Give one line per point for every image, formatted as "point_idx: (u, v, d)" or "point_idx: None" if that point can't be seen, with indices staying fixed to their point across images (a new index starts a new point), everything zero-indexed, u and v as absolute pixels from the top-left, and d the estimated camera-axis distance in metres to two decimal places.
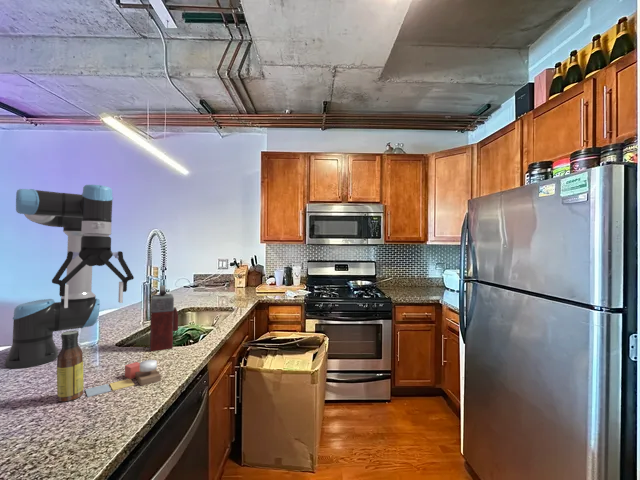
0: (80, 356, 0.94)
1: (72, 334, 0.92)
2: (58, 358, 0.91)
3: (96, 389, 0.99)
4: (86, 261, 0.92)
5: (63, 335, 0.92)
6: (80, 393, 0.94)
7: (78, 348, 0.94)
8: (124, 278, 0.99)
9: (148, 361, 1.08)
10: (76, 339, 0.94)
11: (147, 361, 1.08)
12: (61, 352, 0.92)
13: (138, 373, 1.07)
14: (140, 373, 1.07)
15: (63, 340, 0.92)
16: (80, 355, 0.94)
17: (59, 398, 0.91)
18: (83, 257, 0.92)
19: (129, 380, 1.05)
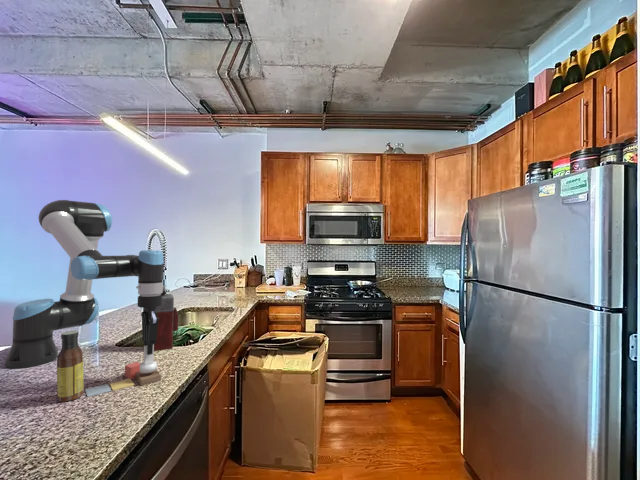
0: (80, 356, 0.94)
1: (72, 334, 0.92)
2: (58, 358, 0.91)
3: (96, 389, 0.99)
4: (142, 316, 1.08)
5: (63, 335, 0.92)
6: (80, 393, 0.94)
7: (78, 348, 0.94)
8: (146, 342, 1.05)
9: None
10: (76, 339, 0.94)
11: None
12: (61, 352, 0.92)
13: (138, 373, 1.07)
14: (140, 373, 1.07)
15: (63, 340, 0.92)
16: (80, 355, 0.94)
17: (59, 398, 0.91)
18: None
19: (129, 380, 1.05)
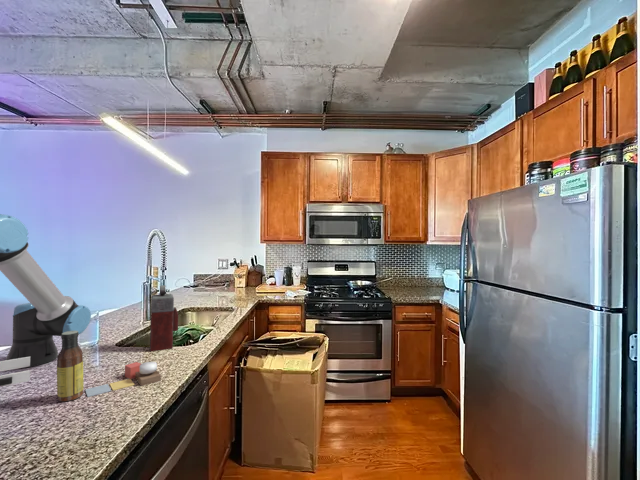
0: (80, 356, 0.94)
1: (72, 334, 0.92)
2: (58, 358, 0.91)
3: (96, 389, 0.99)
4: None
5: (63, 335, 0.92)
6: (80, 393, 0.94)
7: (78, 348, 0.94)
8: None
9: (148, 363, 1.08)
10: (76, 339, 0.94)
11: (147, 362, 1.08)
12: (61, 352, 0.92)
13: (138, 373, 1.07)
14: (140, 373, 1.07)
15: (63, 340, 0.92)
16: (80, 355, 0.94)
17: (59, 398, 0.91)
18: None
19: (129, 380, 1.05)
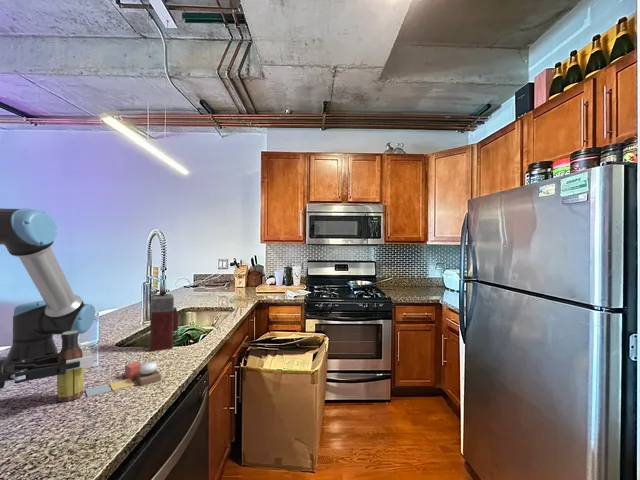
0: (80, 356, 0.94)
1: (72, 334, 0.92)
2: (58, 358, 0.91)
3: (96, 389, 0.99)
4: None
5: (63, 335, 0.92)
6: (80, 393, 0.94)
7: (78, 348, 0.94)
8: None
9: (148, 363, 1.08)
10: (76, 339, 0.94)
11: (147, 362, 1.08)
12: (61, 352, 0.92)
13: (138, 373, 1.07)
14: (140, 373, 1.07)
15: (63, 340, 0.92)
16: (80, 355, 0.94)
17: (59, 398, 0.91)
18: None
19: (129, 380, 1.05)
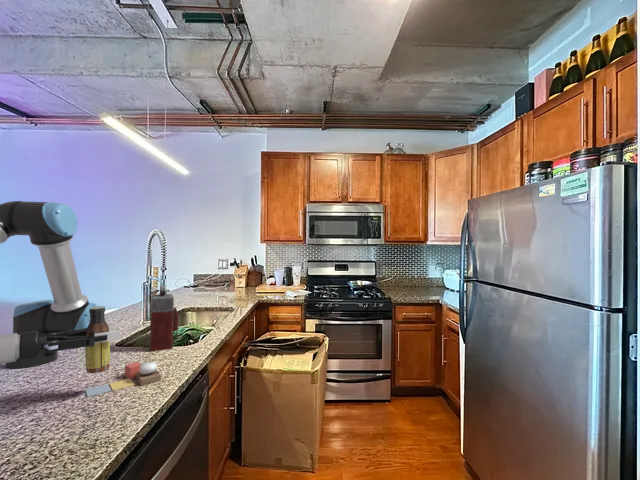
0: (107, 330, 0.98)
1: (99, 309, 0.96)
2: (86, 331, 0.95)
3: (96, 389, 0.99)
4: None
5: (91, 309, 0.95)
6: (107, 366, 0.97)
7: (105, 323, 0.98)
8: None
9: (148, 363, 1.08)
10: (103, 314, 0.98)
11: (147, 362, 1.08)
12: (89, 326, 0.95)
13: (138, 373, 1.07)
14: (140, 373, 1.07)
15: (91, 314, 0.96)
16: (107, 329, 0.98)
17: (87, 370, 0.95)
18: None
19: (129, 380, 1.05)
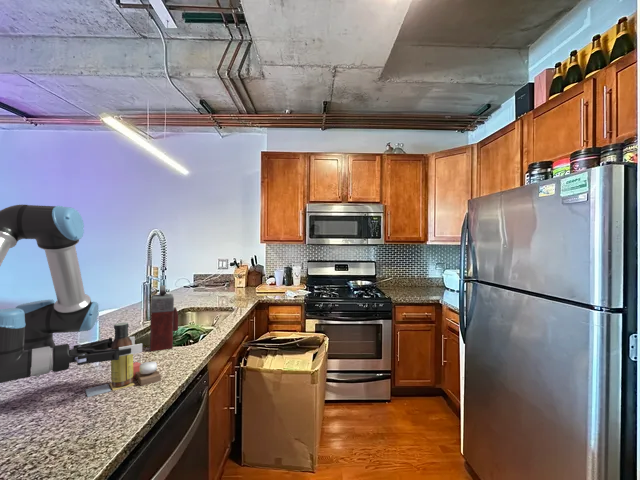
0: None
1: (124, 325, 1.02)
2: (112, 347, 1.00)
3: (96, 389, 0.99)
4: None
5: (116, 326, 1.01)
6: (131, 379, 1.03)
7: (128, 338, 1.04)
8: None
9: (148, 363, 1.08)
10: (127, 330, 1.03)
11: (147, 362, 1.08)
12: (114, 341, 1.01)
13: (138, 373, 1.07)
14: (140, 373, 1.07)
15: (116, 330, 1.01)
16: (131, 344, 1.03)
17: (113, 383, 1.00)
18: None
19: None
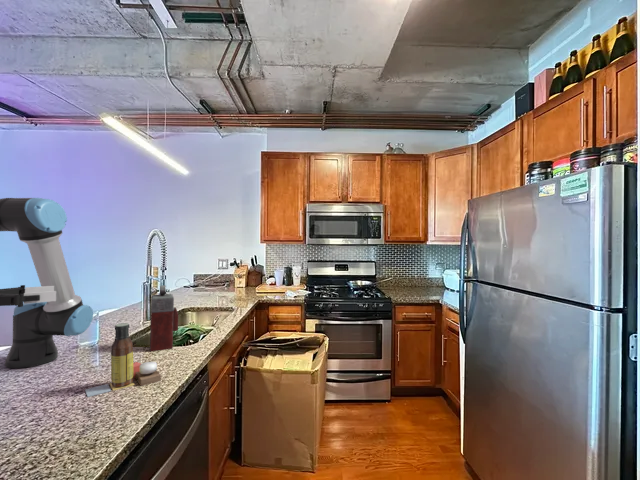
0: (131, 346, 1.03)
1: (125, 326, 1.01)
2: (112, 348, 1.00)
3: (96, 389, 0.99)
4: None
5: (117, 327, 1.00)
6: (131, 380, 1.03)
7: (129, 339, 1.03)
8: None
9: (148, 363, 1.08)
10: (127, 330, 1.03)
11: (147, 362, 1.08)
12: (115, 342, 1.01)
13: (138, 373, 1.07)
14: (140, 373, 1.07)
15: (117, 331, 1.01)
16: (131, 345, 1.03)
17: (113, 384, 1.00)
18: None
19: None
